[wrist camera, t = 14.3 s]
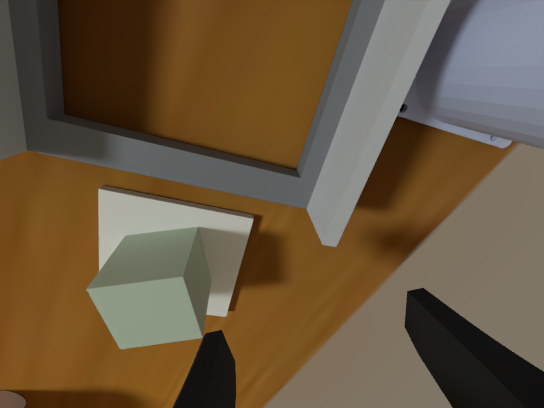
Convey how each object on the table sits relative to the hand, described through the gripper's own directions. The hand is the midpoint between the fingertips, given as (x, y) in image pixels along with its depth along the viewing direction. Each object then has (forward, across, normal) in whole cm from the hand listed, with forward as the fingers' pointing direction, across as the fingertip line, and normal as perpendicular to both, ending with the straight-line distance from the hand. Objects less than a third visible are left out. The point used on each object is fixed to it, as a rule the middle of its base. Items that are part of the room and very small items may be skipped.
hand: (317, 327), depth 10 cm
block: (+9, +9, +2) cm, 13 cm away
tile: (+10, +9, +2) cm, 14 cm away
